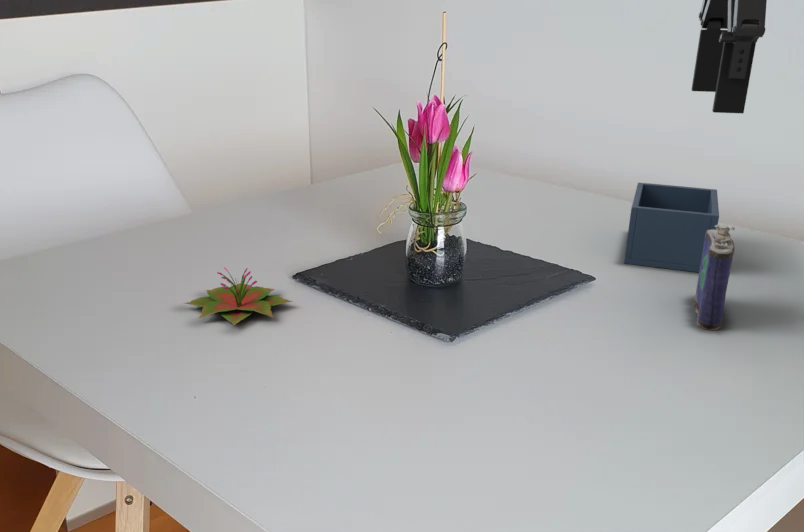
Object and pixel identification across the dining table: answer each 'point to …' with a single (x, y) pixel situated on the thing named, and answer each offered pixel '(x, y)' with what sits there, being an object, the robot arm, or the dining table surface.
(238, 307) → the lily flower
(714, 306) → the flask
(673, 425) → the dining table surface
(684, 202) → the bin
